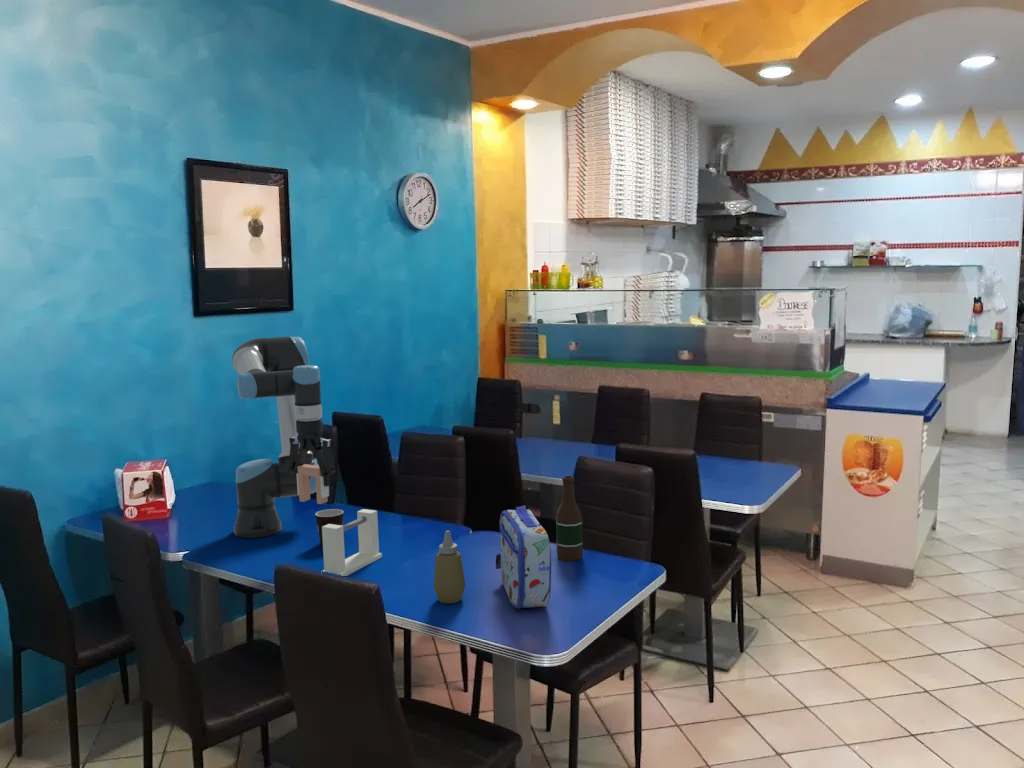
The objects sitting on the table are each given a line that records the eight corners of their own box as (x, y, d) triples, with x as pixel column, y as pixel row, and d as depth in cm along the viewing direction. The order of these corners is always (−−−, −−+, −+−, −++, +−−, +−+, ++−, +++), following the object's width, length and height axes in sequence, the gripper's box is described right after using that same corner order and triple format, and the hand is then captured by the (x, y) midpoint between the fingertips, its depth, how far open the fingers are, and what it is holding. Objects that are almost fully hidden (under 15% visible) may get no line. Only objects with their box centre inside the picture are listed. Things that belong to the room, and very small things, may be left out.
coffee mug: (338, 549, 254) (336, 517, 253) (312, 547, 256) (310, 516, 254) (353, 537, 265) (351, 506, 264) (328, 536, 267) (326, 506, 266)
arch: (299, 501, 244) (297, 466, 243) (306, 498, 247) (304, 464, 245) (321, 503, 240) (319, 468, 239) (327, 501, 243) (325, 466, 242)
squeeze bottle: (434, 594, 215) (431, 527, 213) (465, 592, 216) (463, 525, 214) (434, 606, 207) (431, 537, 205) (466, 604, 208) (464, 535, 206)
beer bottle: (586, 554, 243) (584, 474, 240) (579, 563, 236) (578, 480, 233) (560, 552, 246) (559, 473, 243) (553, 560, 239) (551, 479, 236)
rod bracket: (321, 574, 232) (318, 526, 230) (362, 554, 249) (360, 508, 247) (341, 578, 229) (339, 529, 227) (382, 557, 246) (379, 511, 244)
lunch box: (493, 578, 226) (491, 500, 223) (530, 575, 228) (529, 497, 225) (515, 618, 199) (513, 529, 196) (557, 614, 201) (555, 526, 198)
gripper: (272, 419, 242) (277, 495, 245) (329, 423, 232) (333, 502, 235) (290, 415, 248) (294, 489, 251) (346, 418, 239) (350, 495, 242)
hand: (313, 495), depth 243 cm, fingers closed on arch, 8 cm apart
